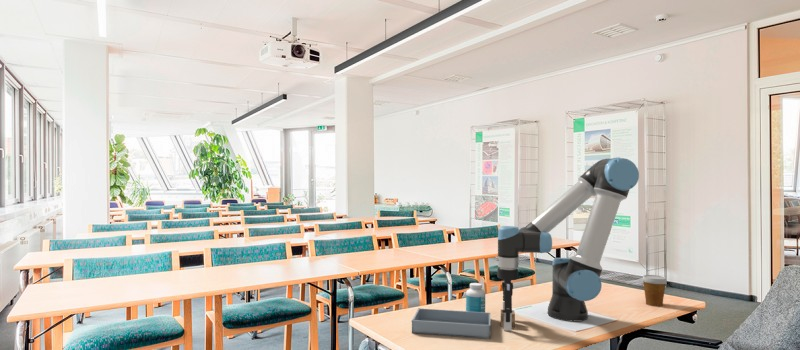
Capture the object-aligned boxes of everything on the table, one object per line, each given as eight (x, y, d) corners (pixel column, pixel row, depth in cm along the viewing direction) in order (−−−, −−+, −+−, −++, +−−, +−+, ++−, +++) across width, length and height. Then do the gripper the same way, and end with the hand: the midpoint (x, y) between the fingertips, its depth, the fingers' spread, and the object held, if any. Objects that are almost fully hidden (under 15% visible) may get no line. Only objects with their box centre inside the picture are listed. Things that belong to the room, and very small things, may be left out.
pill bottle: (485, 322, 176) (485, 286, 176) (465, 321, 178) (465, 285, 178) (485, 316, 184) (485, 282, 184) (466, 315, 185) (466, 281, 185)
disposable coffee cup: (643, 300, 209) (643, 273, 209) (668, 303, 204) (668, 276, 204) (640, 305, 202) (640, 277, 202) (665, 308, 196) (665, 280, 196)
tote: (490, 324, 174) (490, 312, 174) (490, 338, 159) (490, 325, 159) (418, 319, 179) (418, 308, 179) (411, 333, 164) (411, 320, 164)
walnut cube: (514, 323, 176) (514, 310, 176) (514, 327, 171) (514, 314, 171) (500, 322, 177) (500, 309, 177) (500, 326, 172) (501, 313, 172)
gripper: (497, 261, 187) (496, 313, 187) (498, 274, 162) (497, 334, 162) (516, 262, 185) (515, 315, 185) (520, 275, 161) (519, 336, 161)
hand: (506, 324), depth 174 cm, fingers open, 13 cm apart
